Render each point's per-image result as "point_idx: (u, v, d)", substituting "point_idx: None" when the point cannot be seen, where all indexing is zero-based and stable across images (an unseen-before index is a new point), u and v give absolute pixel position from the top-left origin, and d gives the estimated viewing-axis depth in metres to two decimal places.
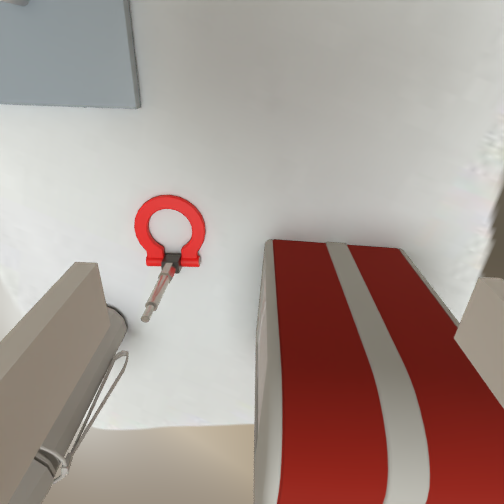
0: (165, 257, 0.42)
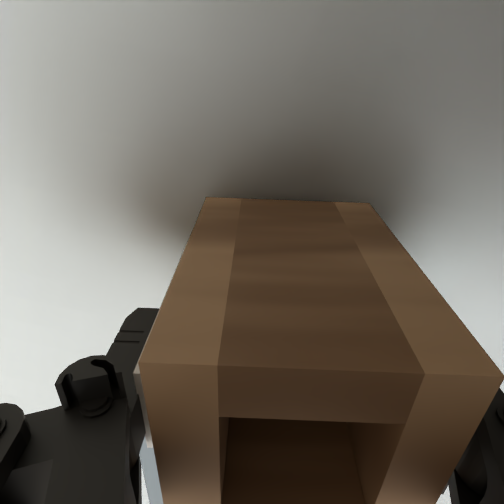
0: None
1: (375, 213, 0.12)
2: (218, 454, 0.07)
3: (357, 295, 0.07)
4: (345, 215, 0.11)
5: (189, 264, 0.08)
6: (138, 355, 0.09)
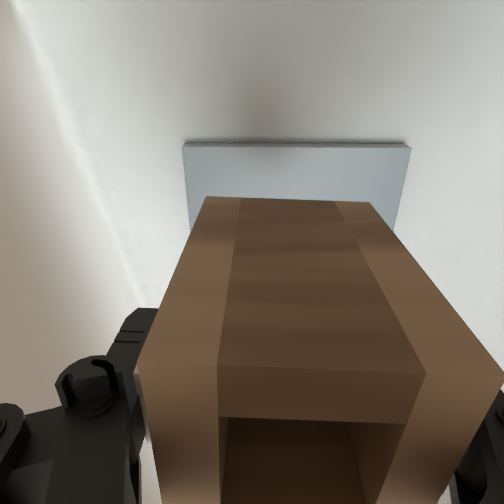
0: None
1: (375, 212, 0.12)
2: (217, 454, 0.07)
3: (358, 294, 0.07)
4: (345, 214, 0.11)
5: (188, 263, 0.08)
6: (138, 355, 0.09)
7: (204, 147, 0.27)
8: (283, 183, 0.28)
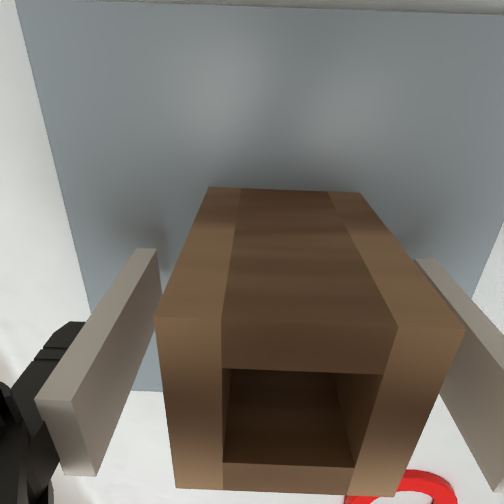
0: None
1: (365, 201, 0.13)
2: (221, 404, 0.08)
3: (344, 267, 0.08)
4: (337, 203, 0.12)
5: (194, 242, 0.09)
6: None
7: (72, 1, 0.11)
8: (268, 108, 0.12)
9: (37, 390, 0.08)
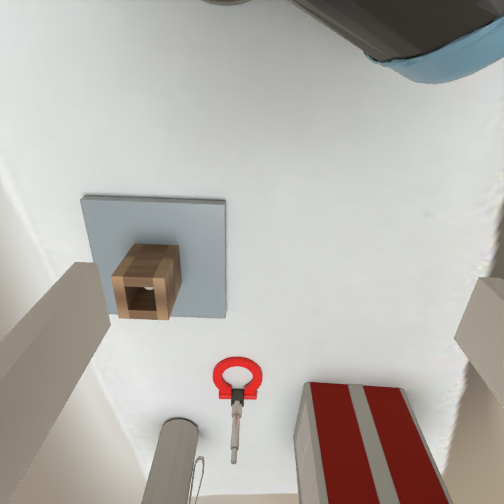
0: (233, 394, 0.59)
1: (176, 249, 0.45)
2: (125, 294, 0.40)
3: (152, 267, 0.40)
4: (168, 249, 0.44)
5: (123, 262, 0.41)
6: None
7: (94, 200, 0.43)
8: (148, 223, 0.44)
9: None
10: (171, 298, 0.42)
